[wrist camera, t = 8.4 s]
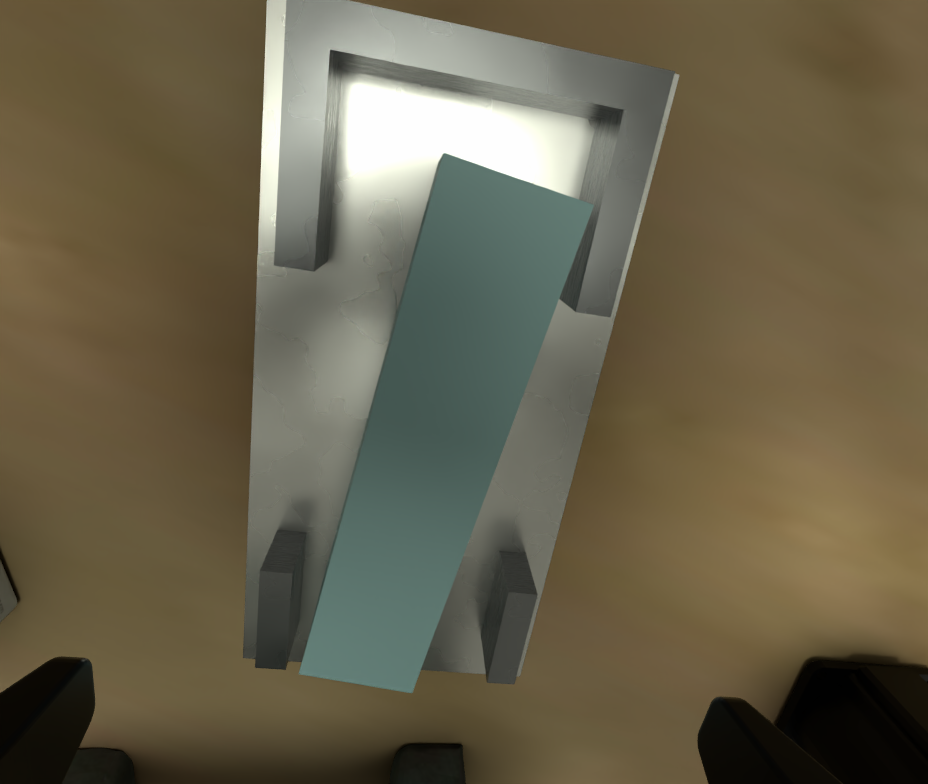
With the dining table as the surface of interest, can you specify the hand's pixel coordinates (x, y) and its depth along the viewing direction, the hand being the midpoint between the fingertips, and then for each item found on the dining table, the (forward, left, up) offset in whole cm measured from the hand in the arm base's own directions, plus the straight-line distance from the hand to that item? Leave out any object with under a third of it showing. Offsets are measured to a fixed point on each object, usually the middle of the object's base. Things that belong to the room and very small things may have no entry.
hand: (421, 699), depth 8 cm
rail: (0, 0, -11) cm, 11 cm away
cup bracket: (0, 0, -12) cm, 12 cm away
